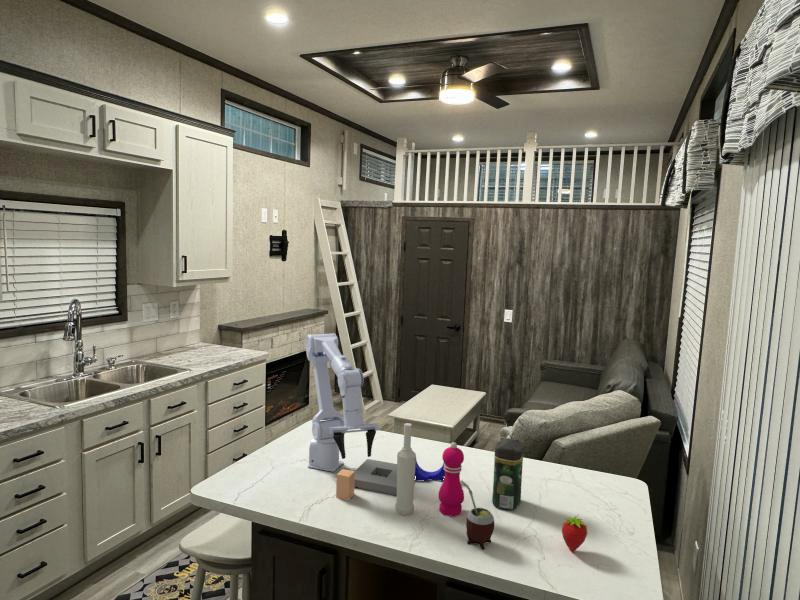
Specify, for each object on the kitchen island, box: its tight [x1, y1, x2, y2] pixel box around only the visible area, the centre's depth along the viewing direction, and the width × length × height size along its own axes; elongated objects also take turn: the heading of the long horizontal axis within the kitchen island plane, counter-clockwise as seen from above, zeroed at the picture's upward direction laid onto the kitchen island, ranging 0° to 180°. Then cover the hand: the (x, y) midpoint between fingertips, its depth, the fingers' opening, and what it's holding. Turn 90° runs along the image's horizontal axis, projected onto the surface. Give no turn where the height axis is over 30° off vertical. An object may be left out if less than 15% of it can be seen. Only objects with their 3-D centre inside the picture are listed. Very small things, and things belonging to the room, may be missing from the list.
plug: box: [335, 468, 355, 501], centre depth 159 cm, size 4×4×7 cm
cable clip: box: [415, 459, 445, 482], centre depth 172 cm, size 12×4×6 cm, turn 81°
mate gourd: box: [460, 479, 495, 550], centre depth 136 cm, size 8×8×15 cm
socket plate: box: [354, 458, 397, 496], centre depth 170 cm, size 16×16×2 cm
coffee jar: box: [491, 437, 525, 511], centre depth 157 cm, size 10×8×19 cm
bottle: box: [394, 422, 417, 516], centre depth 150 cm, size 5×5×25 cm
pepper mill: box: [437, 441, 465, 517], centre depth 151 cm, size 7×7×20 cm
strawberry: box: [561, 513, 588, 553], centre depth 134 cm, size 6×8×10 cm
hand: (356, 457), depth 159 cm, fingers open, 7 cm apart
